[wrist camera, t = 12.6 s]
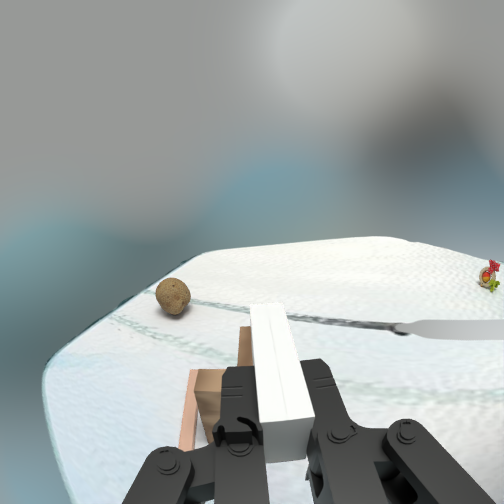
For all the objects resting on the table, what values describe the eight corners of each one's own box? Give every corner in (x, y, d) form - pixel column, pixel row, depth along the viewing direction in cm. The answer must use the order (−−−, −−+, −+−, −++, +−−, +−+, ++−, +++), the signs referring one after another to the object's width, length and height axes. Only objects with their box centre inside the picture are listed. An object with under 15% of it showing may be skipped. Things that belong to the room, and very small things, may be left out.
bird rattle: (478, 294, 72) (498, 292, 63) (475, 263, 72) (496, 260, 64) (482, 289, 74) (502, 287, 66) (479, 260, 75) (499, 257, 67)
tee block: (293, 381, 47) (297, 324, 43) (302, 442, 34) (312, 388, 29) (217, 382, 47) (208, 326, 43) (208, 443, 34) (193, 390, 30)
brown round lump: (178, 301, 77) (173, 269, 74) (199, 310, 72) (195, 276, 69) (153, 314, 70) (146, 280, 67) (174, 325, 65) (167, 289, 62)
